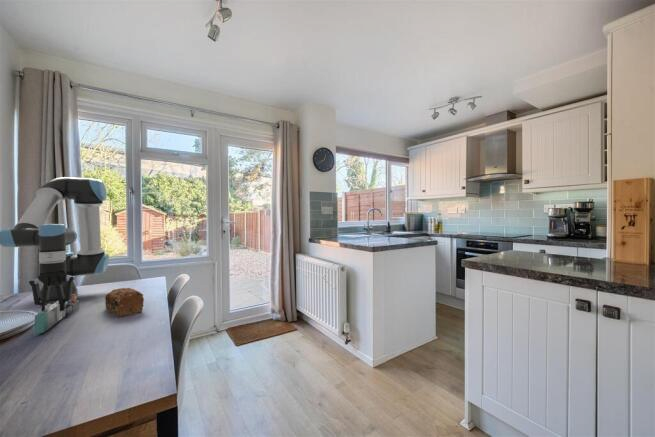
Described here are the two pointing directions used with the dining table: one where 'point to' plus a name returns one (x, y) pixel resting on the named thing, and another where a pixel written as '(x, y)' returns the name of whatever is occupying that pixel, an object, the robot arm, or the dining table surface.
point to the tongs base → (68, 312)
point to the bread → (124, 302)
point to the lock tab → (73, 297)
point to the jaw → (50, 317)
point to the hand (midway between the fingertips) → (53, 320)
